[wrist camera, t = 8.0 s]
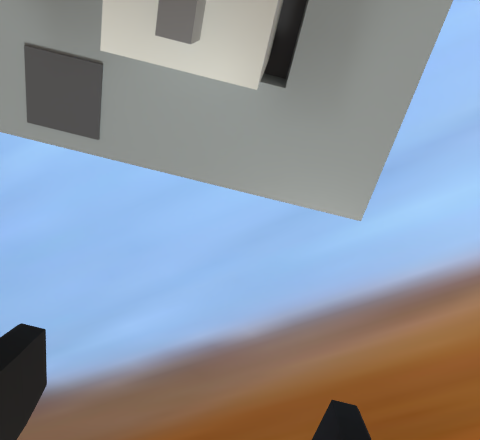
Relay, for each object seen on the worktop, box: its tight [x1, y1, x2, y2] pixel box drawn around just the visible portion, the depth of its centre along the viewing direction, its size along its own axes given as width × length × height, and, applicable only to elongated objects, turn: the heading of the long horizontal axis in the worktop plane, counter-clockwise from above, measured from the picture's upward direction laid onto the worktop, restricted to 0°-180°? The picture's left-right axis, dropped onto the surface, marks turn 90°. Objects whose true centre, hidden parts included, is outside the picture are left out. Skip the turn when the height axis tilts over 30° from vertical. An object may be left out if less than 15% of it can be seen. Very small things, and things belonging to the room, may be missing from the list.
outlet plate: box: [0, 0, 453, 221], centre depth 14 cm, size 12×16×2 cm
